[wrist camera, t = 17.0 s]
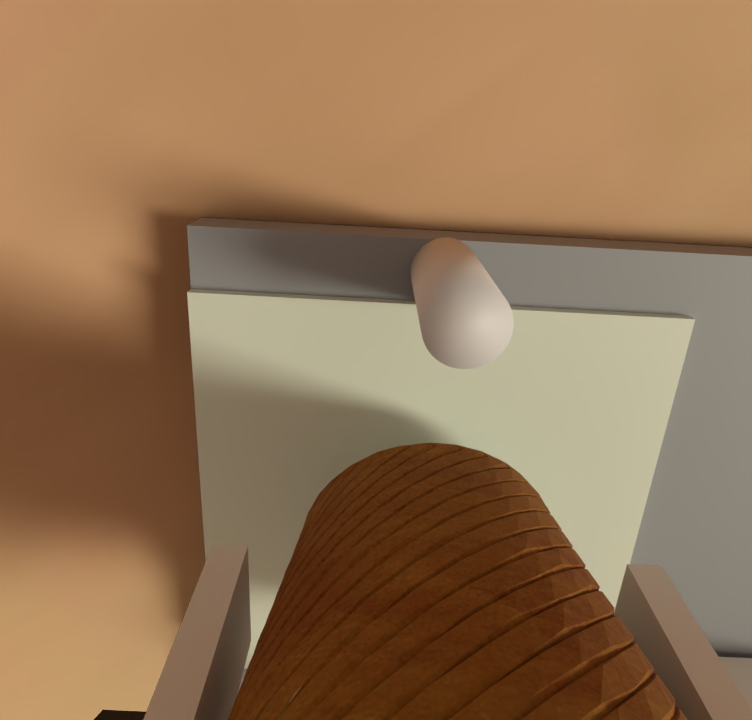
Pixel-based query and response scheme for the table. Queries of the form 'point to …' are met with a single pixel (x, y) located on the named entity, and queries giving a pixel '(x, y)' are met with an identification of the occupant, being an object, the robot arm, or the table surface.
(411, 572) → the disposable coffee cup
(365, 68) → the table surface
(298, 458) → the board
